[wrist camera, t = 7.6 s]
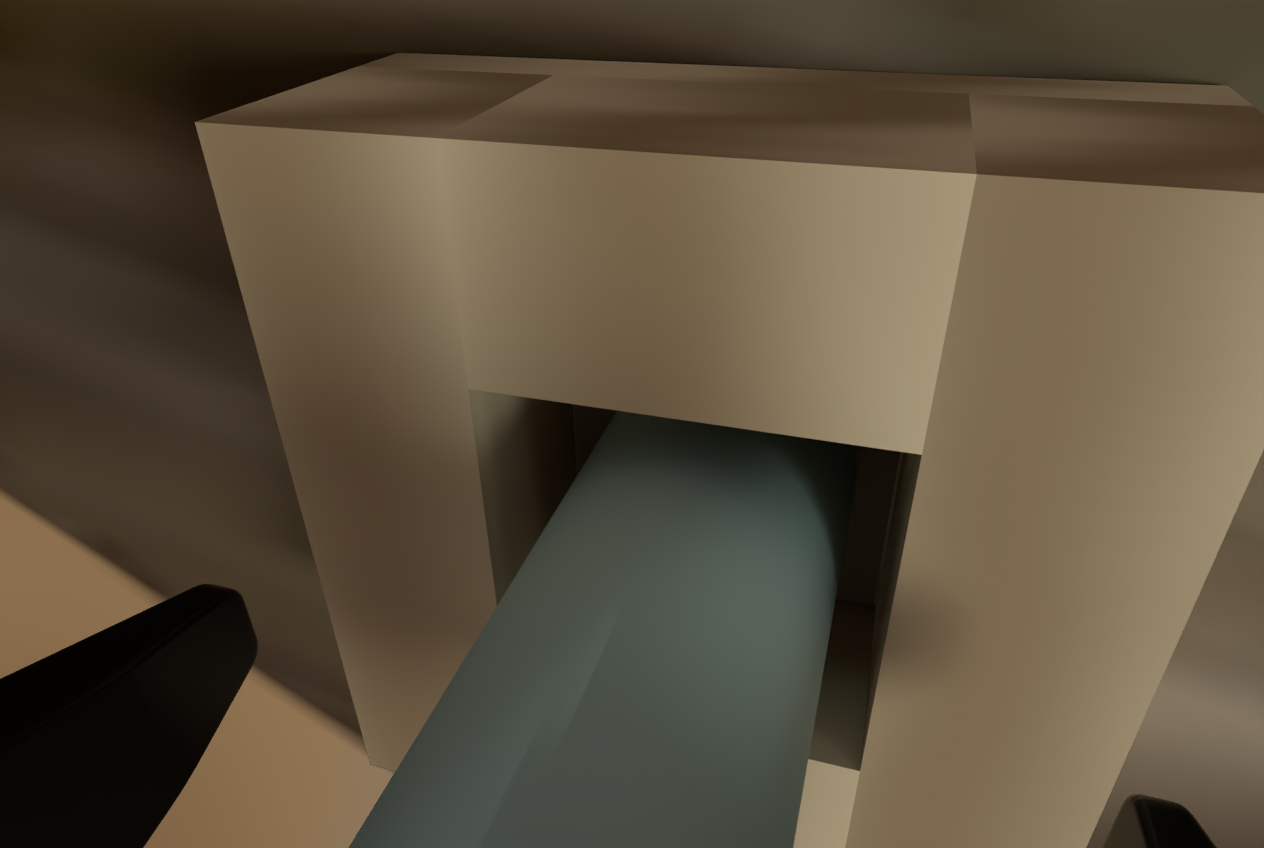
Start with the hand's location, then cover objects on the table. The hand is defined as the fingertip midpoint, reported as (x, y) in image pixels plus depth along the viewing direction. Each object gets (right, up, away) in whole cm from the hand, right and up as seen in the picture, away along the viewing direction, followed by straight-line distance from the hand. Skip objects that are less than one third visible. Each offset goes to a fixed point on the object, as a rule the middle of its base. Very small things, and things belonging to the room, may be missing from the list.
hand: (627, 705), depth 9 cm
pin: (+1, +2, +4) cm, 5 cm away
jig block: (+2, +3, +5) cm, 6 cm away
